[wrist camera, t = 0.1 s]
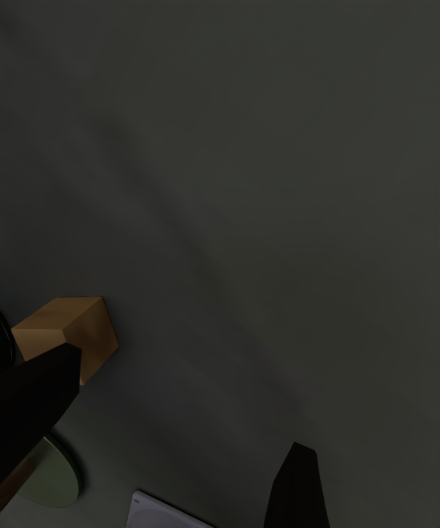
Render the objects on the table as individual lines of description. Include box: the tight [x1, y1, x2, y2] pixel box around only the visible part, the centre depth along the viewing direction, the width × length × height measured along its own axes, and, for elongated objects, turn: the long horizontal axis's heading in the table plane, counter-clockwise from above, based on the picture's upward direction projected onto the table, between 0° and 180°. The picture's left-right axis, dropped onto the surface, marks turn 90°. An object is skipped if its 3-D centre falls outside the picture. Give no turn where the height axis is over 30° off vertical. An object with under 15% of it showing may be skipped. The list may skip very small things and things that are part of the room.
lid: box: [0, 433, 82, 512], centre depth 33 cm, size 12×12×5 cm
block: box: [11, 297, 119, 385], centre depth 24 cm, size 4×4×4 cm
